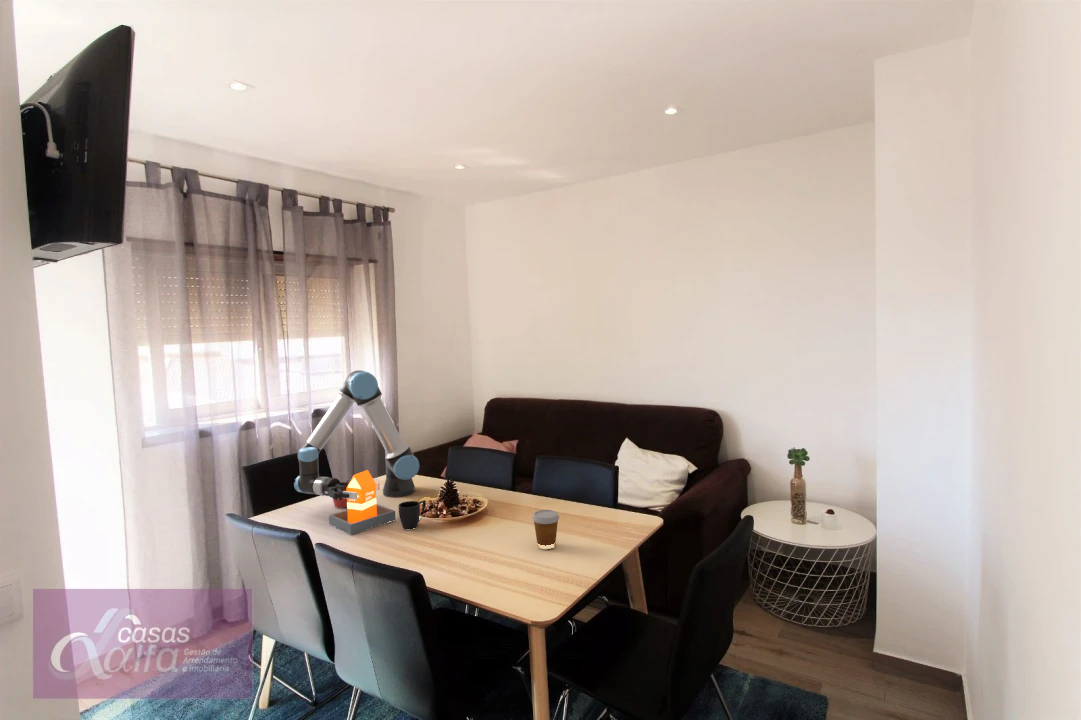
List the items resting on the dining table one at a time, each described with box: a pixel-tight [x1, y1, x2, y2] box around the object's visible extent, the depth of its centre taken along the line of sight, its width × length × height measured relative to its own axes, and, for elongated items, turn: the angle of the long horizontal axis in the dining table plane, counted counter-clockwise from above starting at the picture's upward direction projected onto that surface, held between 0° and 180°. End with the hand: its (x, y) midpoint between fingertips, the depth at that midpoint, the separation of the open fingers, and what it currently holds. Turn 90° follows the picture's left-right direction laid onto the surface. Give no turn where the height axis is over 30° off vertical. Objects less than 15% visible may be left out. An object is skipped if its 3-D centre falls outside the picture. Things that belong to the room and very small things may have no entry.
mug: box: [398, 500, 427, 530], centre depth 210 cm, size 8×12×10 cm
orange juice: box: [346, 469, 377, 523], centre depth 215 cm, size 8×9×20 cm
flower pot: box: [332, 492, 347, 509], centre depth 238 cm, size 11×11×10 cm
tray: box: [328, 503, 397, 536], centre depth 216 cm, size 20×17×4 cm
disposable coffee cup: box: [532, 509, 560, 546], centre depth 187 cm, size 10×10×12 cm
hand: (368, 491), depth 214 cm, fingers open, 13 cm apart
